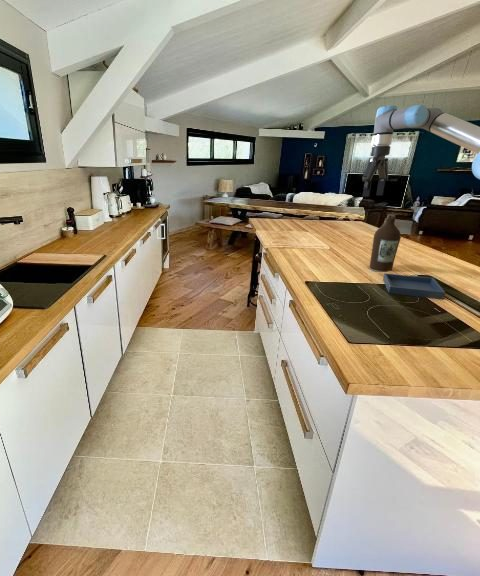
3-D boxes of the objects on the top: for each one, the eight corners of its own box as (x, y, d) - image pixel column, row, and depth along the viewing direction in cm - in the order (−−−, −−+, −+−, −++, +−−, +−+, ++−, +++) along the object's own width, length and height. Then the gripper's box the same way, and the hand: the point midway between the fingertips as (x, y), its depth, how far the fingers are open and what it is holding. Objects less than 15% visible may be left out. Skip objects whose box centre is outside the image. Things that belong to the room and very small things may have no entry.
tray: (431, 284, 129) (433, 277, 128) (443, 299, 115) (445, 292, 114) (383, 279, 136) (384, 273, 135) (388, 293, 122) (390, 286, 121)
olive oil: (365, 264, 156) (375, 213, 146) (388, 265, 153) (400, 213, 144) (371, 271, 146) (382, 217, 137) (396, 272, 144) (409, 217, 134)
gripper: (384, 148, 148) (376, 194, 155) (358, 145, 134) (351, 196, 141) (402, 146, 143) (393, 195, 150) (376, 143, 128) (368, 197, 135)
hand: (372, 196), depth 145 cm, fingers open, 13 cm apart
